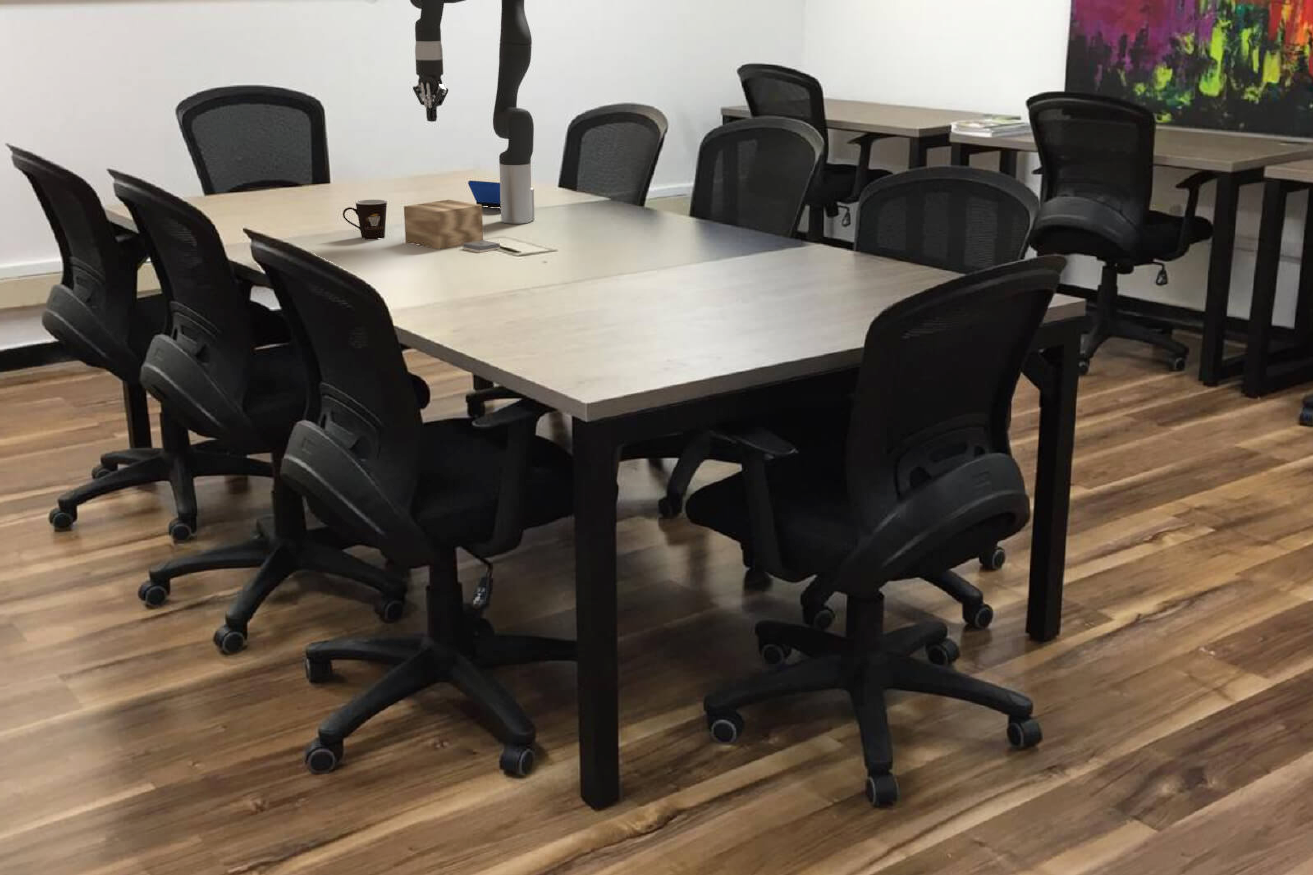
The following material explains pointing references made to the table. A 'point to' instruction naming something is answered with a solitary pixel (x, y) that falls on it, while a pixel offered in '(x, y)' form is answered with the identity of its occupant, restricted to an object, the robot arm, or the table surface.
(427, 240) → the oak block
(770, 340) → the table surface
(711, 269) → the table surface
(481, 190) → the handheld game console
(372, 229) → the coffee mug
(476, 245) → the coaster
